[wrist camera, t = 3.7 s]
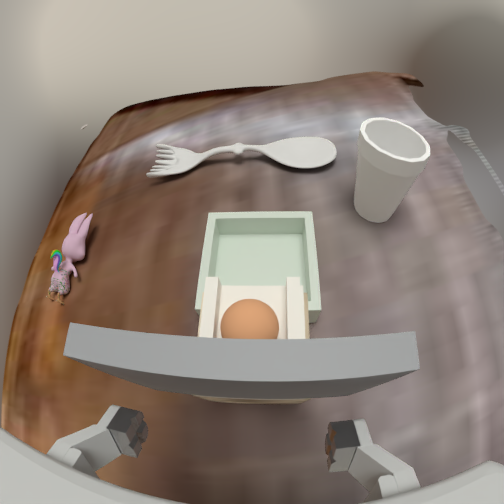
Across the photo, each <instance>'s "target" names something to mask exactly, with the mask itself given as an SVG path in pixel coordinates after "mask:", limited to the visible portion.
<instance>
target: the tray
mask: <svg viewBox="0 0 504 504" xmlns="http://www.w3.org/2000/svg"><path fill="white" fill-rule="evenodd" d="M206 277H219V280H220V282H221V285H232V286H286V278H287V277H300V285H303V293H307V295H308V315H309V323H316V321H317V319H318V316H319V314H320V312H321V299H320V286H319V274H318V263H317V253H316V243H315V234H314V225H313V217H312V212H220V213H209V215H208V221H207V227H206V233H205V240H204V246H203V253H202V260H201V267H200V274H199V281H198V288H197V296H196V304H195V310H196V312H197V313H198V315H199V316H200V310H201V302H202V294H203V292H204V288H205V280H206Z"/></svg>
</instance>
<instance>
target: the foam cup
mask: <svg viewBox="0 0 504 504" xmlns="http://www.w3.org/2000/svg"><path fill="white" fill-rule="evenodd" d="M357 146H358V158H357V171H356V183H355V193H354V207H355V210H356V211H357V212H358V214H359V215H360V216H361V217H363V218H364V219H366V220H368V221H370V222H376V223H381V222H385V221H387V220H388V219H389V218H390V217H391V215H392V214H393V213H394V212H395V210H396V209H397V207H398V206H399V204H400V203H401V201H402V200H403V198H404V197H405V195H406V194H407V192H408V191H409V189H410V188H411V186H412V185H413V183H414V182H415V180H416V179H417V177H418V175H419V174H420V173H421V172H422V171H423V170H424V169H425V166H426V164H427V162H428V159H429V157H430V146H429V144H428V143H427V142H426V140H425V139H424V137H423V136H422V135H420V134H419V133H418V132H417V131H415V130H414V129H413V128H411V127H409V126H407V125H405V124H403V123H401V122H399V121H396V120H391V119H387V118H370V119H368V120H366V121H364V122H362V125H361V128H360V132H359V137H358V142H357Z"/></svg>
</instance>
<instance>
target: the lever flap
mask: <svg viewBox="0 0 504 504" xmlns="http://www.w3.org/2000/svg"><path fill="white" fill-rule="evenodd" d="M243 299H256V300H260V301H262V302H264V303H266V304H267V305H269V306H270V307H271V308H272V309H273V311H274V312H275V314H276V316H277V318H278V322H279V333H278V337H277V339H230V338H222V336H221V331H220V324H221V319H222V317H223V314H224V313H225V311H226V310H227V309H228V308H229V307H230V306H231V305H232V304H233V303H235V302H237V301H240V300H243ZM63 355H65V356H67V357H69V358H71V359H73V360H76V361H78V362H80V363H83V364H85V365H87V366H90V367H92V368H95V369H97V370H100V371H102V372H105V373H108V374H110V375H113V376H116V377H118V378H121V379H124V380H127V381H130V382H133V383H136V384H139V385H142V386H145V387H148V388H152V389H155V390H160V391H167V392H175V393H183V394H192V395H196V396H203V397H215V398H230V399H253V400H297V399H306V398H323V397H337V396H348V395H351V394H354V393H357V392H360V391H363V390H366V389H369V388H372V387H375V386H378V385H381V384H383V383H386V382H389V381H391V380H394V379H397V378H399V377H402V376H404V375H407V374H409V373H412V372H414V371H416V370H419V369H420V367H419V358H418V349H417V342H416V335H415V331H412V332H403V333H393V334H382V335H370V336H357V337H340V338H317V339H305V316H304V293H303V285H300V277H287V278H286V286H232V285H221V282H220V280H219V277H206V280H205V288H204V297H203V305H202V314H201V323H200V333H199V337H190V336H176V335H164V334H153V333H143V332H134V331H125V330H117V329H109V328H102V327H95V326H88V325H82V324H76V323H70V326H69V330H68V334H67V339H66V344H65V349H64V354H63Z"/></svg>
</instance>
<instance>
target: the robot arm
mask: <svg viewBox="0 0 504 504" xmlns="http://www.w3.org/2000/svg"><path fill="white" fill-rule="evenodd" d="M143 418H144V416H143V413H142V412H140V411H137V410H132V409H128V408H124V407H120V406H116V405H111V406H110V407H109V408H108V410H107V411H106V413H105V414H104V415H103V417H102V418H101V420H100V421H99V423H98V424H97V425H92V426H90V427H87V428H85V429H83V430H80V431H78V432H76V433H73V434H71V435H68V436H66V437H63V438H61V439H58V440H57V441H56V442H55V444H54V445H53V446H52V448H51V449H50V450H49V451H48V453H47V454H46V455H45V454H44V453H42V452H40V451H38V450H36V449H35V448H33V447H31V446H29V445H28V444H26V443H24V442H23V441H21V440H20V439H18V438H16V437H15V436H13V435H12V434H10V433H9V432H7V431H6V430H4V429H3V428H1V427H0V504H188V503H182V502H177V501H172V500H168V499H163V498H159V497H155V496H151V495H147V494H143V493H140V492H136V491H133V490H130V489H126V488H123V487H120V486H117V485H114V484H111V483H109V482H106V481H103V480H100V478H99V477H98V476H97V474H96V473H95V471H97V470H98V469H100V468H102V467H103V466H105V465H106V464H108V463H109V462H111V461H112V460H114V459H115V458H117V457H118V456H120V455H121V454H124V455H128V456H132V457H136V458H137V457H138V455H139V453H140V451H141V449H142V446H141V444H142V443H143V442H145V441H146V439H147V436H148V427H147V424H146V423H145V422H144V421H143ZM325 451H326V454H327V455H328V459H327V464H328V471H329V472H339V471H348V472H349V473H350V474H351V475H352V476H353V477H354V478H355V479H356V480H357V481H358V482H359V483H360V484H361V485H363V486H364V487H365V488H366V489H367V490H368V491H369V492H370V494H369V495H368V497H367V498H366V500H365V501H364V503H358V504H504V465H502V464H500V463H497V462H494V461H485V462H483V463H481V464H479V465H477V466H474V467H472V468H470V469H468V470H466V471H464V472H461V473H459V474H457V475H454V476H452V477H449V478H447V479H444V480H442V481H439V482H436V483H434V484H431V485H428V486H425V487H422V488H421V487H420V484H419V482H418V479H417V477H416V474H415V472H414V469H413V468H412V467H411V466H409V465H408V464H406V463H404V462H403V461H401V460H400V459H398V458H397V457H395V456H394V455H392V454H391V453H389V452H388V451H386V450H385V449H383V448H382V447H380V446H379V445H377V444H373V442H372V439H371V436H370V433H369V430H368V427H367V425H366V422H365V420H364V419H356V420H347V421H339V422H330V423H329V425H328V434H326V438H325Z"/></svg>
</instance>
